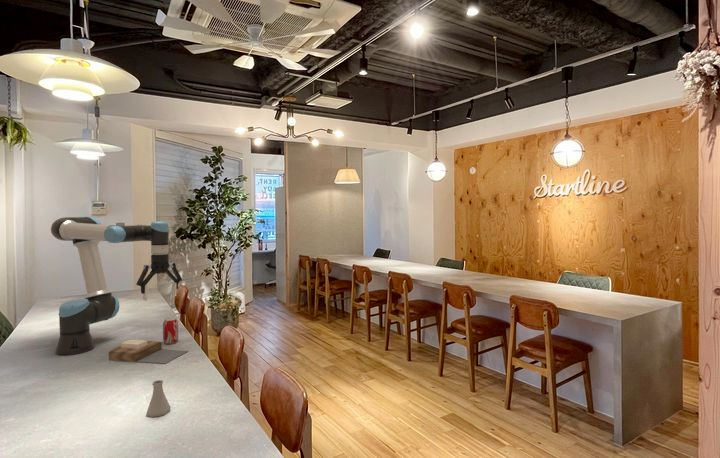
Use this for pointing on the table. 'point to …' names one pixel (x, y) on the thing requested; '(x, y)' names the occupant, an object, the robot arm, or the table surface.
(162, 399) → the flask
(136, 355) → the deck
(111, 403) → the table surface
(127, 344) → the tile
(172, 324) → the soda can
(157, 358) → the mat
